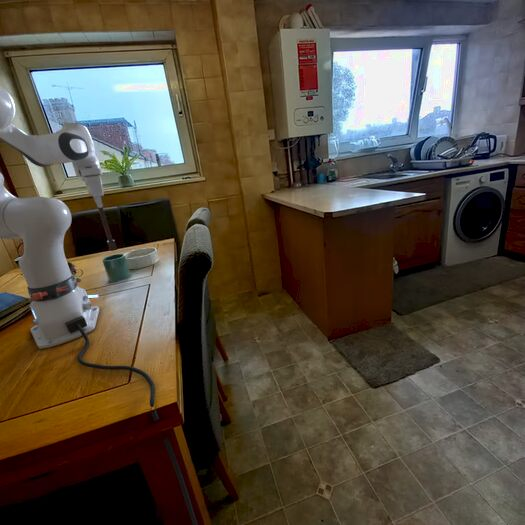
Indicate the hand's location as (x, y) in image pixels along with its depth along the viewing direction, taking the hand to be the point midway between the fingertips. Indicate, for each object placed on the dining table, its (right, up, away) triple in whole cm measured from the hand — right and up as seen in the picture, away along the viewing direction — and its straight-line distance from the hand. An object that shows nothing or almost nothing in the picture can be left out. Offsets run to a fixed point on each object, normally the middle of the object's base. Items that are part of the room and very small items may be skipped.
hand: (100, 207), depth 111 cm
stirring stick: (+2, -17, +6) cm, 18 cm away
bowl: (+6, -23, +25) cm, 35 cm away
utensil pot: (+3, -29, +10) cm, 31 cm away
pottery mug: (-28, -29, +20) cm, 45 cm away
